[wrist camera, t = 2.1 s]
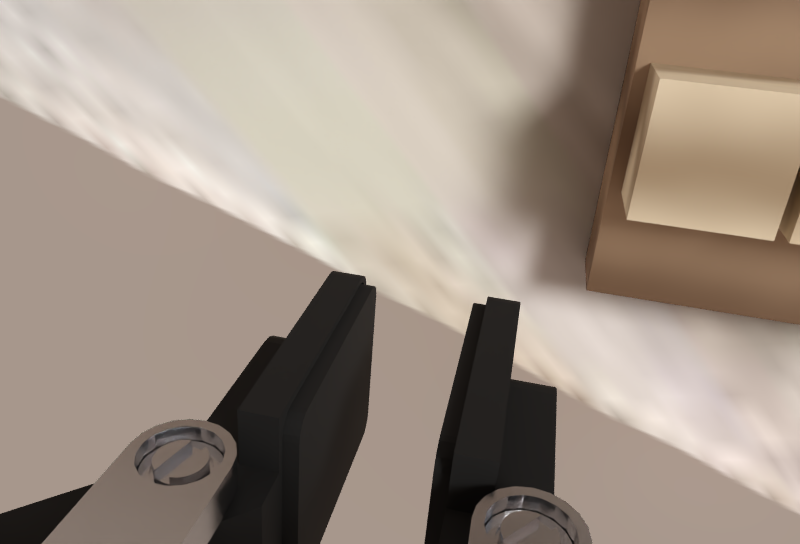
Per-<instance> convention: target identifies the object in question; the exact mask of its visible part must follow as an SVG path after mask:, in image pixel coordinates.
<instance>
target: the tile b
mask: <svg viewBox="0 0 800 544" xmlns="http://www.w3.org/2000/svg"><path fill="white" fill-rule="evenodd" d="M779 229H780V231H781V232H782V233H783V235H784V236H785V238H786V239H787V241H788V242H789V243H791V244H797V245H800V166H799V169H798V172H797V175H796V178H795V181H794V184H793V187H792V190H791V193H790V196H789V199H788V202H787V205H786V208H785V210H784V213H783V216H782V219H781V222H780V225H779Z"/></svg>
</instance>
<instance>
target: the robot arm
mask: <svg viewBox="0 0 800 544" xmlns="http://www.w3.org/2000/svg"><path fill="white" fill-rule="evenodd" d="M375 303H376V287H375V286H370V285H366V278H365V276H360V275H354V274H348V273H342V272H336V271H332V272H331V273H330V275H329V276H328V277H327V279H326V280H325V282H324V283H323V285H322V286H321V288H320V289H319V291H318V292H317V294H316V295H315V297H314V298H313V299H312V301H311V302H310V304H309V306H308V307H307V308H306V310H305V311H304V313H303V314H302V316H301V317H300V318H299V320H298V321H297V323H296V324H295V326H294V327H293V329H292V330H291V332H290V333H289V335H288V336H287V338H282V337H277V336H270V337H269V338H268V339H267V340H266V341H265V342H264V343H263V345H262V346H261V347H260V349H259V350H258V351H257V353H256V354H255V356H254V357H253V358H252V360H251V361H250V362H249V364H248V365H247V367H246V368H245V369H244V371H243V372H242V373H241V375H240V376H239V378H238V379H237V380H236V382H235V383H234V384H233V386H232V387H231V389H230V390H229V391H228V393H227V394H226V396H225V397H224V398H223V400H222V401H221V402H220V404H219V405H218V406H217V408H216V409H215V410H214V412H213V413H212V415H211V416H210V417H209V419H208V420H207V421H202V420H193V419H187V420H175V421H170V422H167V423H163V424H160V425H157V426H154V427H152V428H150V429H148V430H146V431H145V432H143V433H141V434H140V435H139V436H138V437H136V438H135V439H134V440H133V441H132V442H131V443H130V444H129V445H128V446H127V447H126V448H125V449H124V451H123V452H122V453H121V454H120V455H119V456H118V457H117V458H116V460H115V461H114V462H113V463H112V464H111V465H110V466H109V467H108V469H107V470H106V471H105V472H104V473H103V474H102V475H101V477H100V478H99V479H98V480H97V481H96V482H95V483H94V484H91V485H88V486H85V487H82V488H79V489H76V490H73V491H70V492H67V493H64V494H60V495H57V496H54V497H51V498H48V499H45V500H42V501H39V502H36V503H33V504H29V505H26V506H24V507H20V508H17V509H14V510H11V511H8V512H5V513H2V514H0V544H320V542H321V540H322V537H323V535H324V532H325V529H326V527H327V525H328V522H329V519H330V517H331V514H332V512H333V510H334V507H335V504H336V502H337V500H338V497H339V495H340V492H341V490H342V487H343V484H344V482H345V480H346V477H347V474H348V472H349V470H350V467H351V465H352V462H353V459H354V457H355V455H356V452H357V450H358V447H359V445H360V442H361V440H362V437H363V435H364V432H365V428H366V423H367V417H368V405H369V390H370V376H371V362H372V346H373V332H374V318H375ZM519 310H520V302H517V301H511V300H505V299H499V298H493V297H488V298H487V303H486V305H483V304H477V303H473V307H472V311H471V315H470V319H469V323H468V327H467V331H466V335H465V339H464V343H463V347H462V351H461V355H460V359H459V363H458V367H457V371H456V375H455V379H454V383H453V387H452V391H451V395H450V399H449V403H448V407H447V410H446V414H445V418H444V423H443V426H442V431H441V434H440V439H439V444H438V448H437V454H436V459H435V466H434V473H433V481H432V489H431V497H430V504H429V512H428V520H427V529H426V537H425V544H592V539H591V536H590V532H589V528H588V526H587V524H586V523H585V521H584V520H583V518H582V517H581V515H580V514H579V513H578V512H577V511H576V510H575V509H574V508H572V506H570V505H569V504H568V503H567V502H566V501H564V500H562V499H560V498H558V497H557V496H555V495H554V479H555V439H556V402H557V389H556V387H551V386H546V385H540V384H535V383H529V382H523V381H518V380H512V379H511V372H512V364H513V357H514V349H515V341H516V333H517V325H518V318H519Z"/></svg>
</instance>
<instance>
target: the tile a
mask: <svg viewBox="0 0 800 544" xmlns="http://www.w3.org/2000/svg"><path fill="white" fill-rule="evenodd" d="M799 166H800V81H799V80H797V79H791V78H783V77H774V76H765V75H756V74H747V73H738V72H729V71H720V70H711V69H702V68H693V67H685V66H676V65H667V64H658V63H651V64H650V69H649V73H648V77H647V82H646V86H645V90H644V95H643V99H642V104H641V108H640V112H639V117H638V121H637V126H636V130H635V134H634V139H633V143H632V147H631V152H630V156H629V161H628V165H627V169H626V174H625V178H624V183H623V187H622V191H621V193H622V198H623V203H624V208H625V213H626V219H627V220H632V221H639V222H646V223H653V224H660V225H667V226H674V227H680V228H687V229H694V230H701V231H708V232H715V233H722V234H729V235H736V236H742V237H749V238H756V239H763V240H770V241H774V240H775V237H776V234H777V231H778V228H779V225H780V222H781V219H782V216H783V213H784V210H785V208H786V205H787V202H788V199H789V196H790V193H791V190H792V187H793V184H794V181H795V178H796V175H797V172H798V169H799Z"/></svg>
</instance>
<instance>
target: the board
mask: <svg viewBox="0 0 800 544" xmlns="http://www.w3.org/2000/svg"><path fill="white" fill-rule="evenodd" d="M651 63H658V64H667V65H676V66H685V67H693V68H702V69H711V70H720V71H729V72H738V73H747V74H756V75H765V76H774V77H783V78H791V79H797V80H799V81H800V0H641V2H640V6H639V11H638V16H637V20H636V25H635V30H634V35H633V39H632V44H631V49H630V53H629V58H628V63H627V67H626V72H625V77H624V81H623V86H622V91H621V95H620V100H619V105H618V109H617V114H616V119H615V123H614V128H613V133H612V137H611V142H610V147H609V151H608V156H607V161H606V166H605V170H604V175H603V180H602V184H601V189H600V194H599V198H598V203H597V208H596V212H595V217H594V222H593V226H592V231H591V236H590V240H589V245H588V250H587V254H586V259H585V269H586V290H589V291H595V292H601V293H607V294H613V295H620V296H626V297H632V298H638V299H644V300H651V301H657V302H663V303H669V304H675V305H682V306H688V307H694V308H700V309H706V310H713V311H719V312H725V313H731V314H737V315H744V316H750V317H756V318H762V319H768V320H775V321H781V322H787V323H793V324H799V325H800V245H797V244H791V243H789V242H788V241H787V239H786V238H785V236H784V235H783V233H782V232H781V231H780V229H779V228H778V231H777V234H776V237H775V240H774V241H770V240H763V239H756V238H749V237H742V236H736V235H729V234H722V233H715V232H708V231H701V230H694V229H687V228H680V227H674V226H667V225H660V224H653V223H646V222H639V221H632V220H627V219H626V213H625V208H624V203H623V198H622V193H621V191H622V187H623V183H624V178H625V174H626V169H627V165H628V161H629V156H630V152H631V147H632V143H633V139H634V134H635V130H636V126H637V121H638V117H639V112H640V108H641V104H642V99H643V95H644V90H645V86H646V82H647V77H648V73H649V69H650V64H651Z"/></svg>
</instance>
